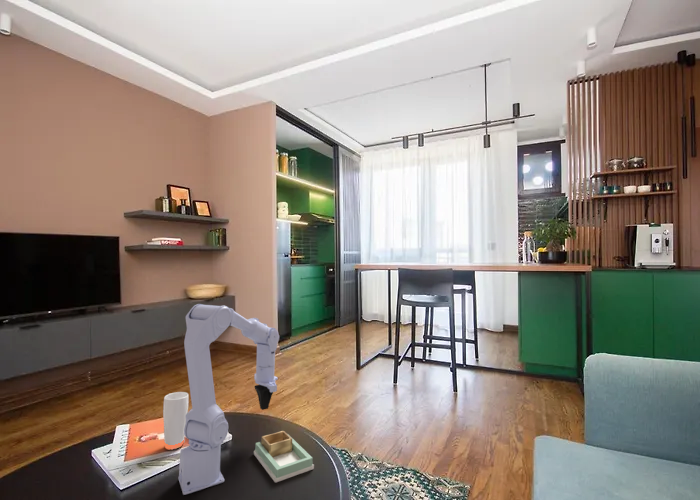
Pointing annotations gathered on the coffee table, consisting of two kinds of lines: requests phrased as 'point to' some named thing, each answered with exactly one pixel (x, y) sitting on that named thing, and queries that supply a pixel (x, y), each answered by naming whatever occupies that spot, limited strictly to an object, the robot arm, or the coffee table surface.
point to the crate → (277, 443)
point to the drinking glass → (175, 417)
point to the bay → (284, 462)
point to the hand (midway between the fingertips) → (264, 408)
